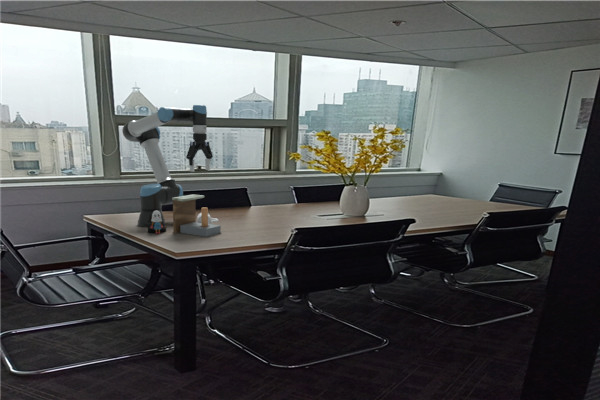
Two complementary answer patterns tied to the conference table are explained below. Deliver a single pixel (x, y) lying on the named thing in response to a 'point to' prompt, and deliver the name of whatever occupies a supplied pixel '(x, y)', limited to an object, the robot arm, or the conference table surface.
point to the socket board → (199, 229)
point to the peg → (204, 216)
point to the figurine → (156, 224)
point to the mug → (210, 220)
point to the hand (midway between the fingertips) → (200, 170)
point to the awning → (184, 210)
